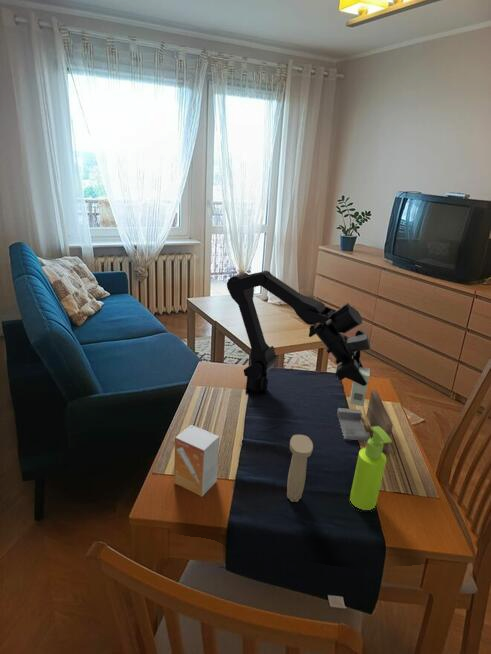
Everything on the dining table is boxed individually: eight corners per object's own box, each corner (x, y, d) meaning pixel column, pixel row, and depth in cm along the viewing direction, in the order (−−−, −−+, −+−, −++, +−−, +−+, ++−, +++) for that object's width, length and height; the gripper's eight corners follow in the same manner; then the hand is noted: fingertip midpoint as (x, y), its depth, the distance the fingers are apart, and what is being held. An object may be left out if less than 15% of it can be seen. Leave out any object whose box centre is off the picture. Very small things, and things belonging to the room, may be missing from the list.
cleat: (344, 439, 123) (345, 433, 123) (337, 413, 136) (338, 407, 135) (369, 442, 123) (370, 436, 123) (359, 415, 136) (360, 409, 135)
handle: (302, 488, 104) (310, 435, 99) (305, 509, 98) (314, 453, 93) (282, 487, 104) (289, 433, 99) (284, 507, 98) (291, 452, 93)
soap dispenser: (359, 517, 97) (376, 442, 90) (344, 495, 103) (359, 422, 96) (383, 513, 99) (401, 438, 91) (367, 491, 105) (382, 420, 97)
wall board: (380, 452, 119) (386, 424, 116) (366, 415, 136) (371, 390, 133) (392, 453, 119) (398, 425, 116) (376, 416, 136) (382, 391, 133)
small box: (173, 483, 102) (174, 437, 98) (189, 468, 108) (191, 423, 103) (201, 498, 99) (204, 450, 94) (217, 481, 104) (220, 435, 99)
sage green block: (349, 405, 129) (355, 374, 126) (350, 395, 135) (355, 366, 131) (363, 407, 129) (369, 377, 125) (363, 398, 134) (369, 368, 130)
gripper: (355, 336, 116) (390, 381, 117) (357, 314, 133) (388, 354, 134) (321, 358, 120) (355, 401, 122) (327, 334, 137) (358, 372, 139)
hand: (365, 380), depth 129 cm, fingers closed on sage green block, 5 cm apart
